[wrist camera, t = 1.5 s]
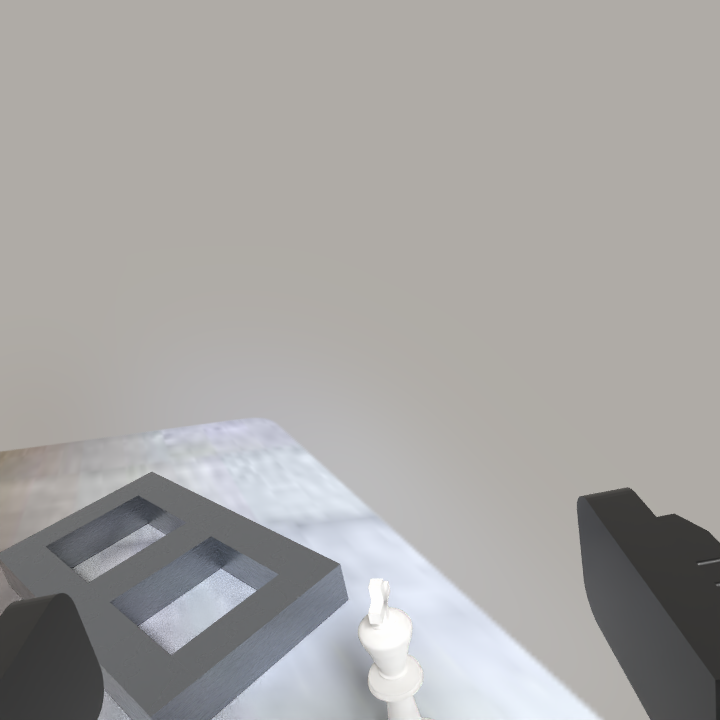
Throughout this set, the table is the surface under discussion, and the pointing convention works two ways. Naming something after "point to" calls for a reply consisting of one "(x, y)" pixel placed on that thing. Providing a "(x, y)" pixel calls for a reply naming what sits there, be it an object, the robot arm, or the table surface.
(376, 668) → the chess piece
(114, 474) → the table surface
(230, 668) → the grey two-window frame
